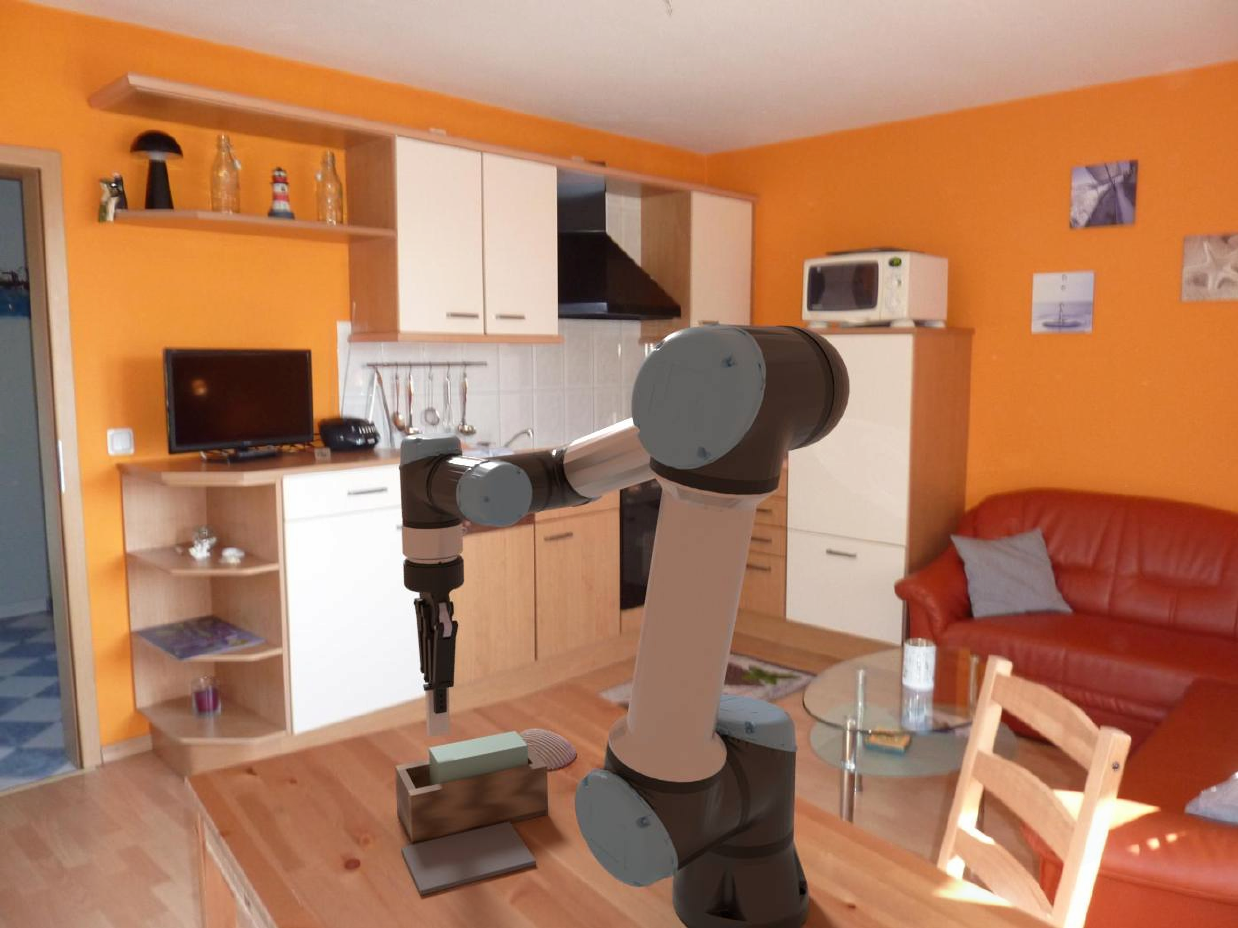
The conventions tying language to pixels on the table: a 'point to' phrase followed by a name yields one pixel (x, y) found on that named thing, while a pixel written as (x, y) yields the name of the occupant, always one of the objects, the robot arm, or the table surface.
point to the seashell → (549, 747)
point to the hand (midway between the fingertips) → (438, 732)
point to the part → (476, 757)
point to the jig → (468, 799)
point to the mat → (466, 857)
